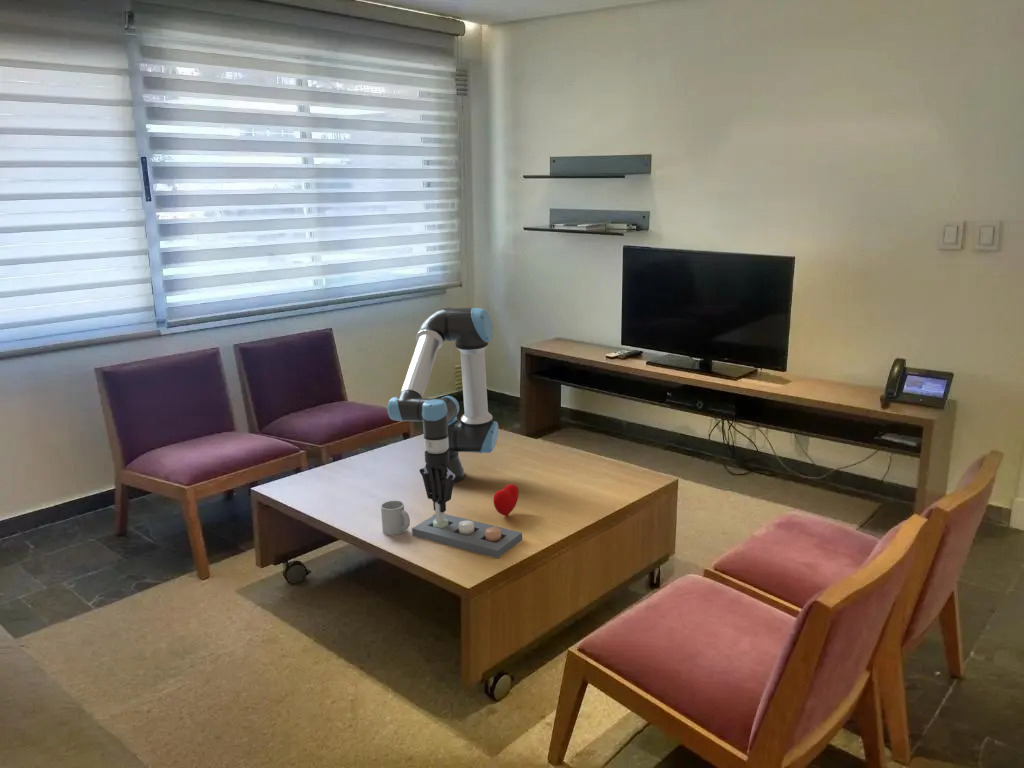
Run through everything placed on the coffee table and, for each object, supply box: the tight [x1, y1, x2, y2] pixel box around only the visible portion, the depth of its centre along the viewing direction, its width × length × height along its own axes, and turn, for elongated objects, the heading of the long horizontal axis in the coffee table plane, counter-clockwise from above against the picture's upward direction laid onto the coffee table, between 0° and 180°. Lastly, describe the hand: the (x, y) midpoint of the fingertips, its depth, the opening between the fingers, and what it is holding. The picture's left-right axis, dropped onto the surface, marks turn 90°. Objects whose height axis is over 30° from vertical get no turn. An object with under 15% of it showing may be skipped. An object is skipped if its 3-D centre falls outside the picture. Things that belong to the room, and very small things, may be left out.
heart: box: [492, 483, 519, 517], centre depth 261 cm, size 12×5×10 cm, turn 148°
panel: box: [411, 513, 523, 559], centre depth 247 cm, size 32×14×2 cm, turn 58°
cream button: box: [458, 519, 474, 536], centre depth 246 cm, size 5×5×3 cm
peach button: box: [485, 526, 501, 543], centre depth 241 cm, size 5×5×3 cm
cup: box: [380, 500, 411, 537], centre depth 252 cm, size 7×10×9 cm
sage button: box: [433, 519, 448, 529], centre depth 252 cm, size 5×5×3 cm
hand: (440, 520), depth 251 cm, fingers closed
